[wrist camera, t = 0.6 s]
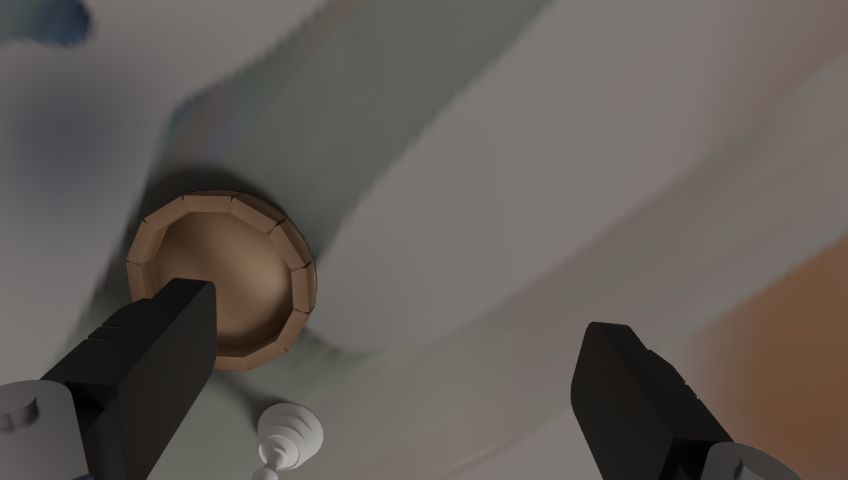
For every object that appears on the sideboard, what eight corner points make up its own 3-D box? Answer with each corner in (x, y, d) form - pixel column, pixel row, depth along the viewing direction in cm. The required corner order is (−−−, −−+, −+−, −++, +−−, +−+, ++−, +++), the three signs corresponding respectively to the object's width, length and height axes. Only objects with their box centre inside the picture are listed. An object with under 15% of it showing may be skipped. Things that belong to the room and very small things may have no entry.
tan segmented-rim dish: (186, 155, 33) (168, 159, 31) (347, 249, 34) (340, 259, 32) (123, 301, 36) (103, 313, 34) (271, 383, 37) (260, 399, 35)
